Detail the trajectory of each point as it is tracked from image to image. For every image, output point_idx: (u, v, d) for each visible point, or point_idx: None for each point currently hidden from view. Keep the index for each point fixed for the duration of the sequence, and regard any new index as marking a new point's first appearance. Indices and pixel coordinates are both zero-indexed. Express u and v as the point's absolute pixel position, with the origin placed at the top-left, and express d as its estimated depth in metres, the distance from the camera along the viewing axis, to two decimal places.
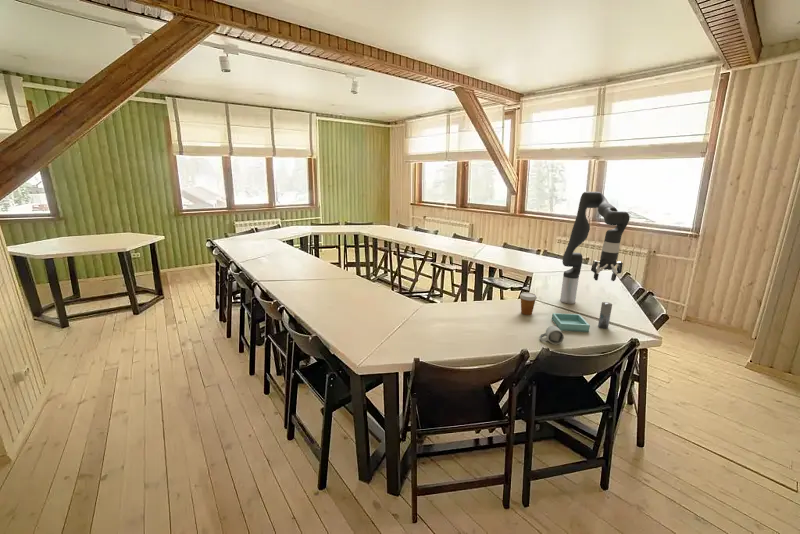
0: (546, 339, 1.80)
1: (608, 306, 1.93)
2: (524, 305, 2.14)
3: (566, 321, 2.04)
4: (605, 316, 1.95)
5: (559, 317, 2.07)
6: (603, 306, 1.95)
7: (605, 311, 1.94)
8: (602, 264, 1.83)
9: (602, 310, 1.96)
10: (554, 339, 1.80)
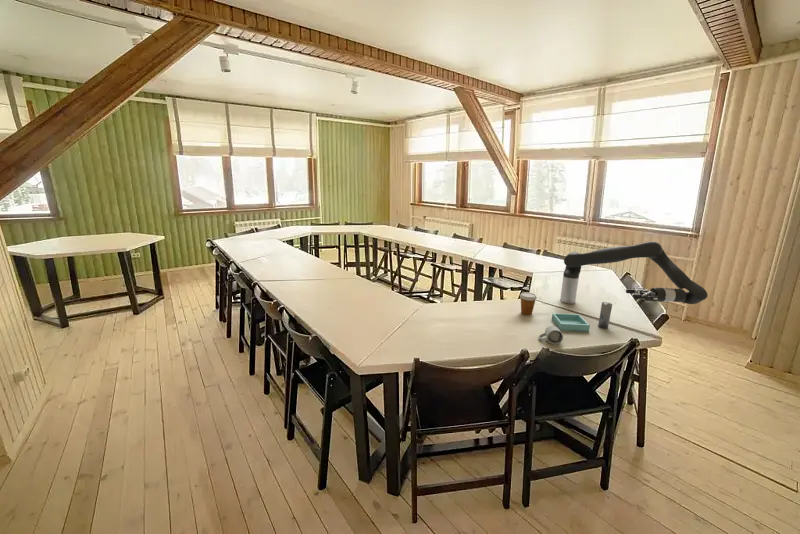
0: (545, 339, 1.80)
1: (608, 306, 1.93)
2: (524, 305, 2.14)
3: (566, 321, 2.04)
4: (605, 316, 1.95)
5: (559, 317, 2.07)
6: (603, 306, 1.95)
7: (605, 311, 1.94)
8: (650, 298, 1.89)
9: (602, 310, 1.96)
10: (553, 339, 1.80)
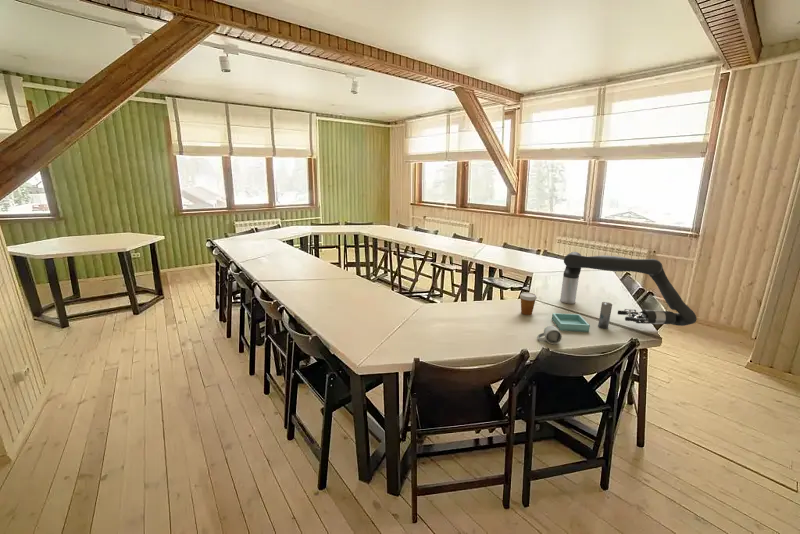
0: (544, 339, 1.81)
1: (608, 306, 1.93)
2: (524, 305, 2.14)
3: (566, 321, 2.04)
4: (605, 316, 1.95)
5: (559, 317, 2.07)
6: (603, 306, 1.95)
7: (605, 311, 1.94)
8: None
9: (602, 310, 1.96)
10: (552, 339, 1.80)
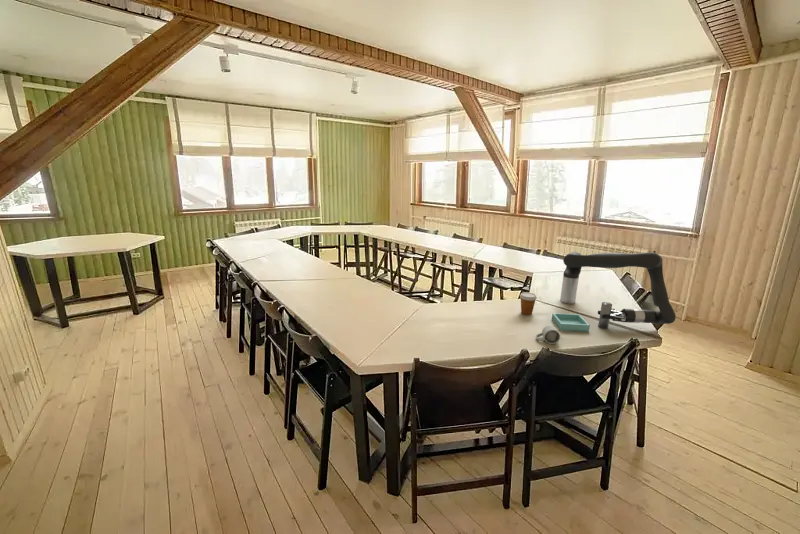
0: (542, 339, 1.81)
1: (608, 306, 1.93)
2: (524, 305, 2.14)
3: (566, 321, 2.04)
4: None
5: (559, 317, 2.07)
6: (603, 306, 1.95)
7: (605, 311, 1.94)
8: None
9: (602, 310, 1.96)
10: (550, 339, 1.81)
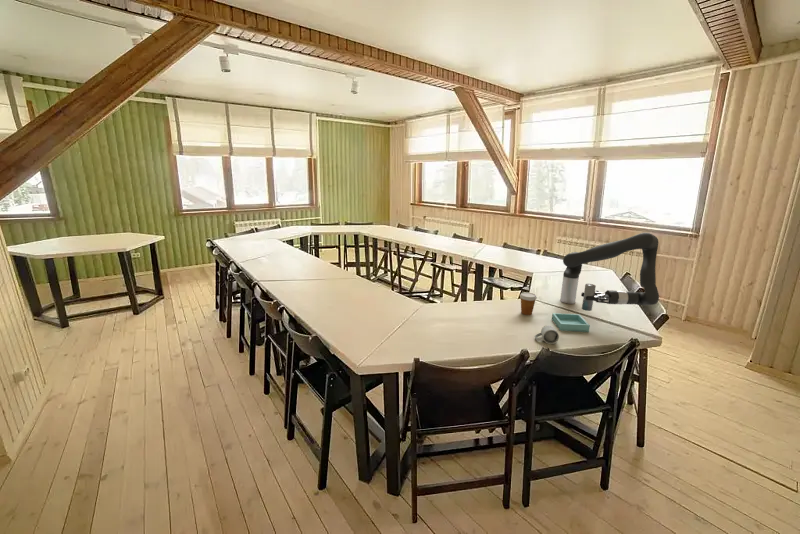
0: (541, 339, 1.81)
1: (591, 287, 1.92)
2: (524, 305, 2.14)
3: (566, 321, 2.04)
4: None
5: (559, 317, 2.07)
6: (586, 287, 1.93)
7: (588, 292, 1.93)
8: None
9: (585, 292, 1.94)
10: (549, 339, 1.81)
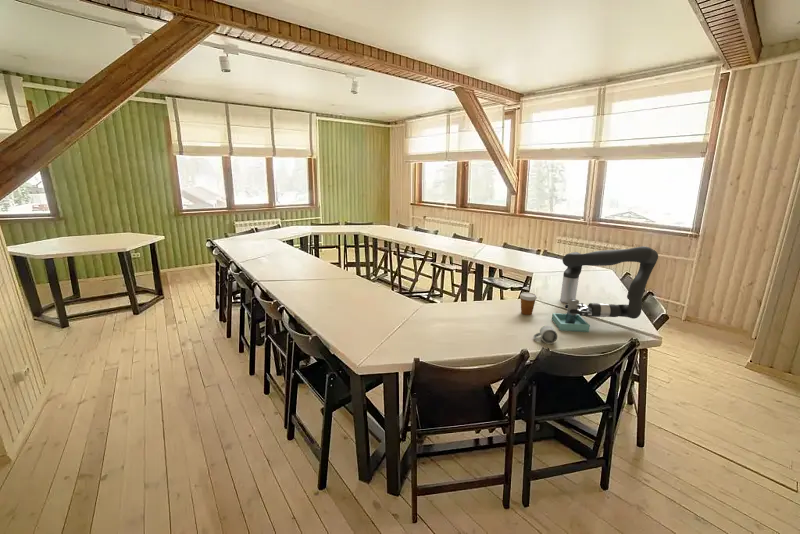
0: (540, 338, 1.81)
1: (575, 302, 1.95)
2: (524, 305, 2.14)
3: None
4: (571, 313, 1.97)
5: (559, 317, 2.07)
6: (570, 302, 1.97)
7: (572, 307, 1.96)
8: None
9: (569, 306, 1.97)
10: (548, 339, 1.81)
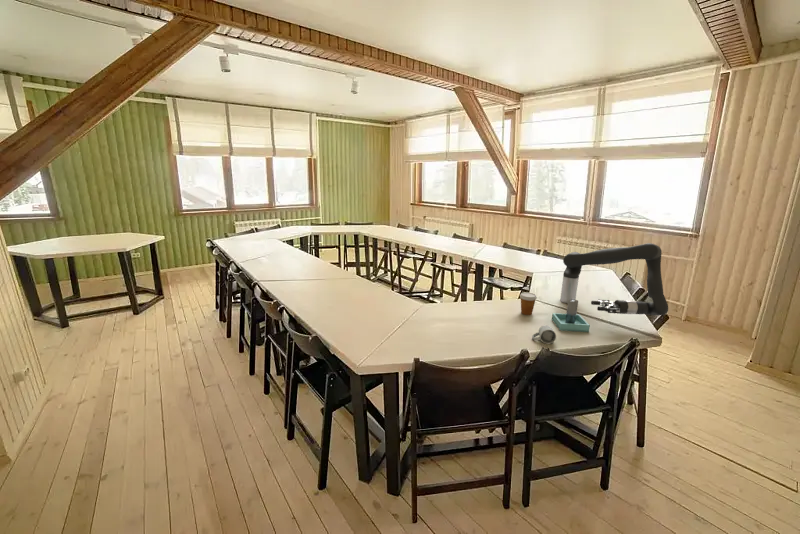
0: (538, 338, 1.81)
1: (574, 303, 1.95)
2: (524, 305, 2.14)
3: None
4: (571, 313, 1.97)
5: (559, 317, 2.07)
6: (569, 303, 1.96)
7: (571, 308, 1.96)
8: None
9: (568, 307, 1.97)
10: (546, 338, 1.81)
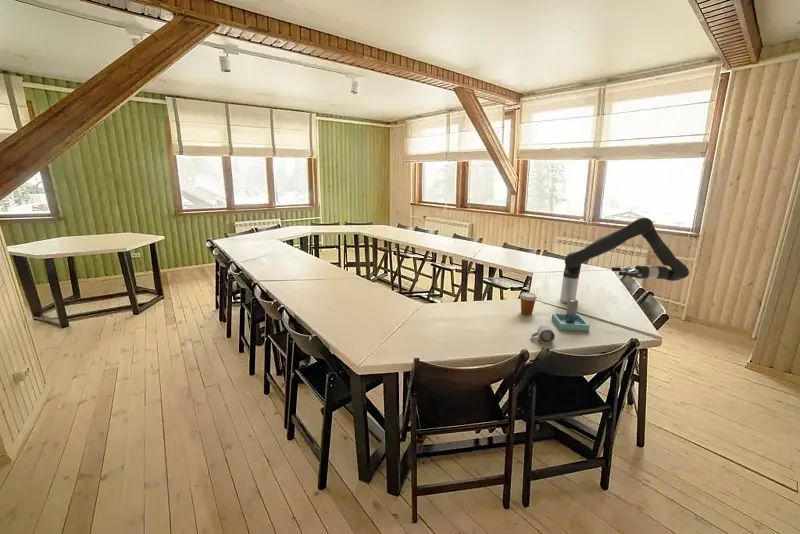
0: (537, 338, 1.81)
1: (574, 303, 1.95)
2: (524, 305, 2.14)
3: None
4: (571, 313, 1.97)
5: (559, 317, 2.07)
6: (569, 303, 1.96)
7: (571, 308, 1.96)
8: None
9: (568, 307, 1.97)
10: (545, 338, 1.81)
